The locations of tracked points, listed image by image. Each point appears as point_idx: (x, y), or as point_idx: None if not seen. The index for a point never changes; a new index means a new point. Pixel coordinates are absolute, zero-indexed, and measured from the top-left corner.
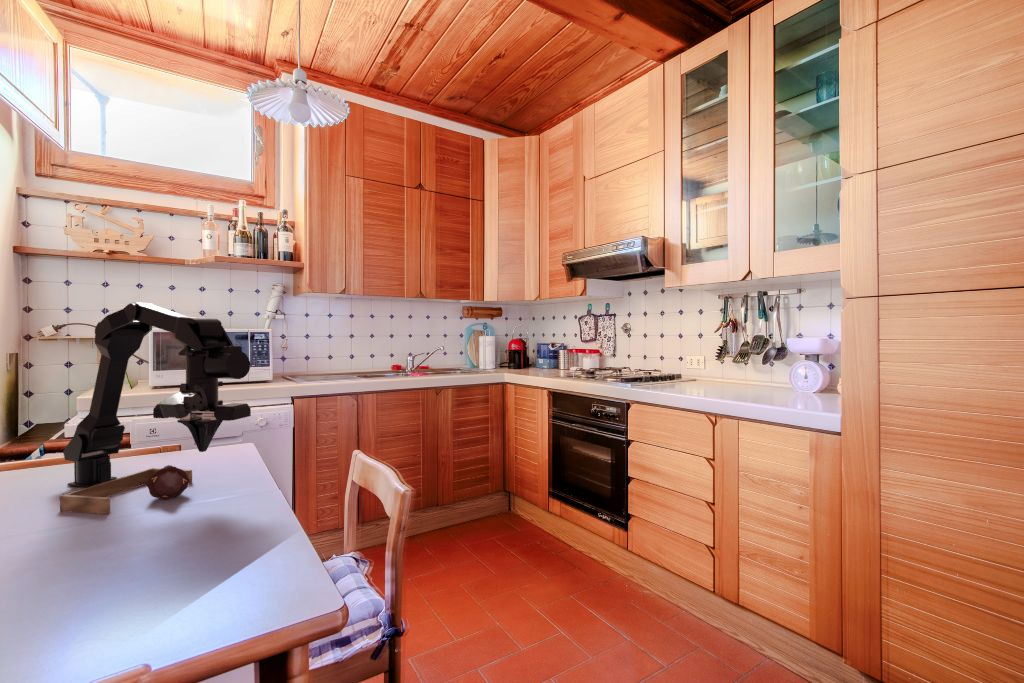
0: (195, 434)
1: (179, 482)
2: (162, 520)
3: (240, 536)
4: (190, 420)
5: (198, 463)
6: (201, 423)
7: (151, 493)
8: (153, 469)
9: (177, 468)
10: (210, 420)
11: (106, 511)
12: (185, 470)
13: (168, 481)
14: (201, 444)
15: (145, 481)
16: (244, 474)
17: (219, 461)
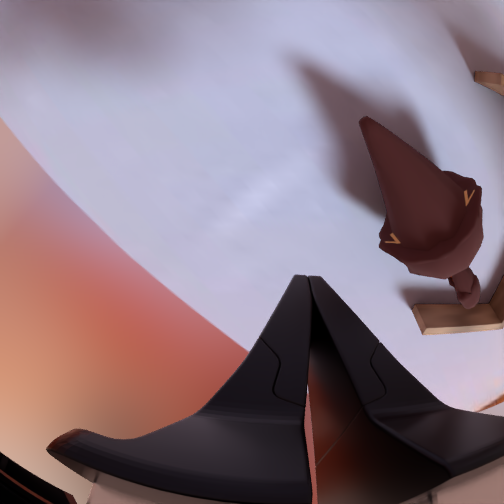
0: (353, 357)
1: (388, 203)
2: (282, 10)
3: (26, 16)
4: (420, 493)
5: (439, 390)
6: (161, 453)
7: (448, 171)
8: (499, 322)
9: (430, 259)
10: (97, 482)
11: (479, 71)
12: (436, 328)
13: (406, 161)
14: (295, 300)
15: (499, 292)
16: None
17: None
